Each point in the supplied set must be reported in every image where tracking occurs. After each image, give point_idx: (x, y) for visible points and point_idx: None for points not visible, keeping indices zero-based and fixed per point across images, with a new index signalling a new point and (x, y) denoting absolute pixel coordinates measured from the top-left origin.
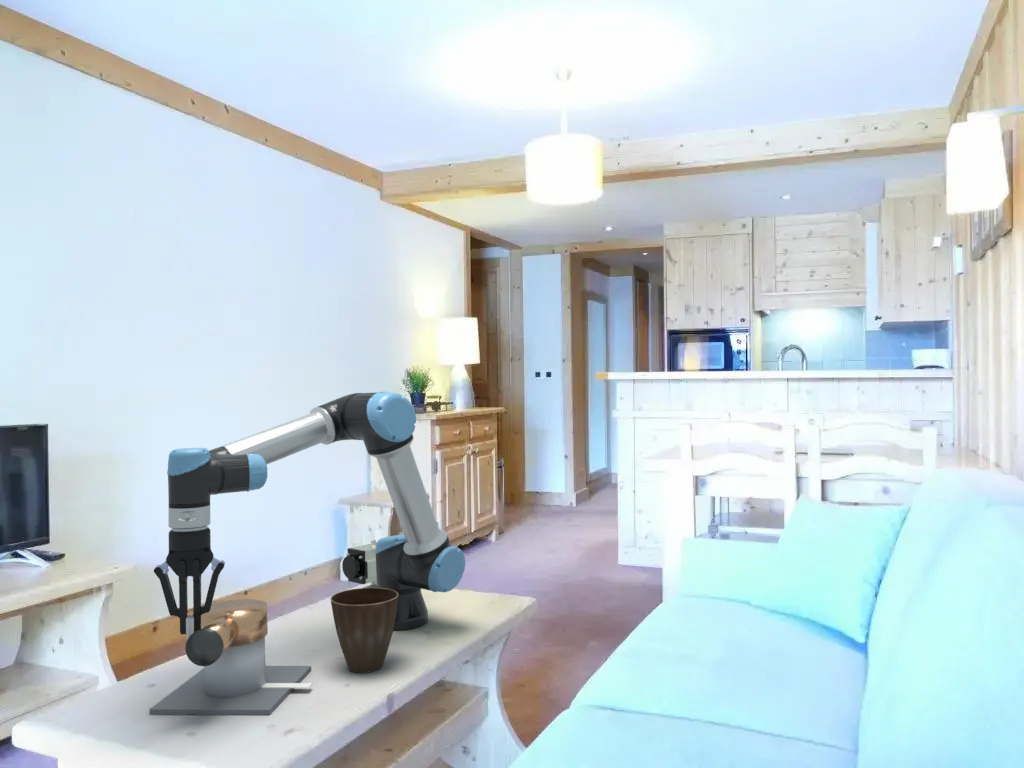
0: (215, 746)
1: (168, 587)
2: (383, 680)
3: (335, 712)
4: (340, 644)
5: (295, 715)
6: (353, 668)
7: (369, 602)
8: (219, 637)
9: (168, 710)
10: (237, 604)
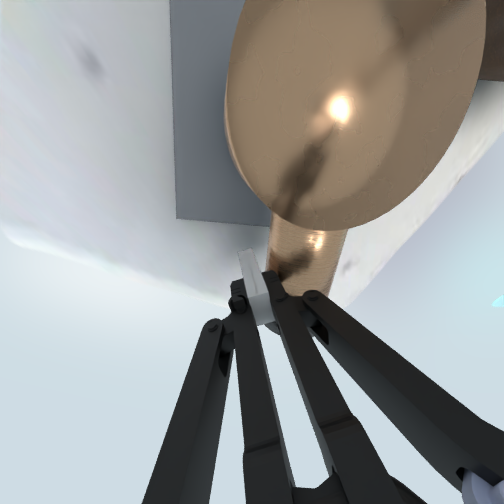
0: None
1: (213, 465)
2: (475, 123)
3: (393, 227)
4: (498, 33)
5: (354, 232)
6: None
7: None
8: None
9: (204, 220)
10: (372, 40)
